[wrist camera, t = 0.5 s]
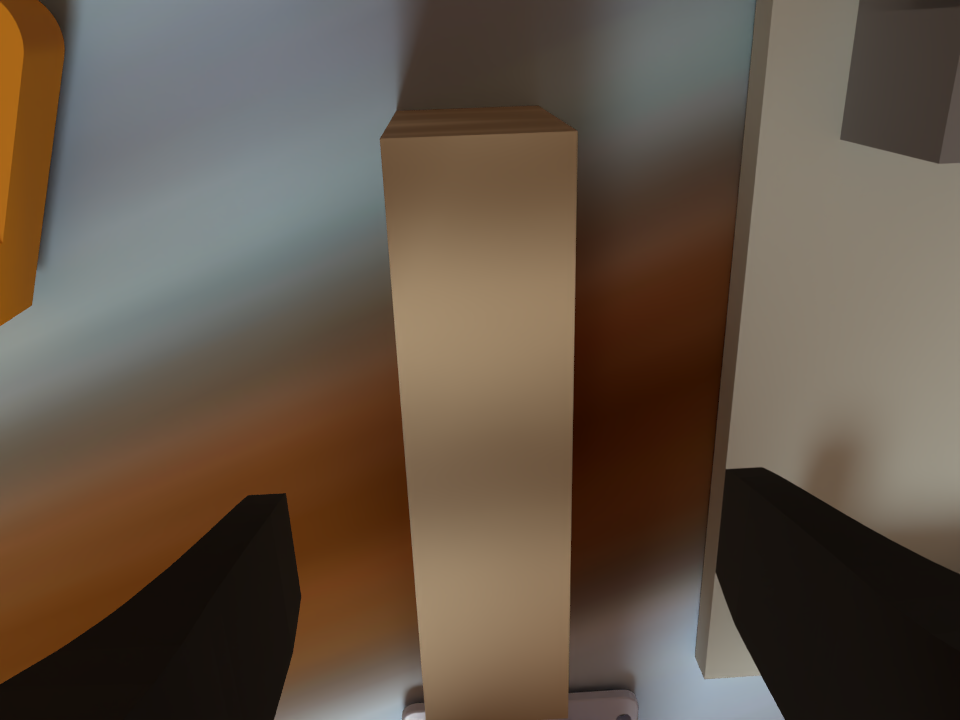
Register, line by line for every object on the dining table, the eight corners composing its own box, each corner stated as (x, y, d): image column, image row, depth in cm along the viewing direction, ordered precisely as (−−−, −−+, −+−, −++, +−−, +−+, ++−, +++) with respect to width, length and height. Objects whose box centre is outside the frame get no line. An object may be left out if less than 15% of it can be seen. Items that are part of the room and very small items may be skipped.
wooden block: (538, 565, 25) (568, 718, 19) (428, 572, 24) (426, 727, 19) (537, 104, 19) (577, 131, 14) (396, 110, 19) (379, 138, 14)
